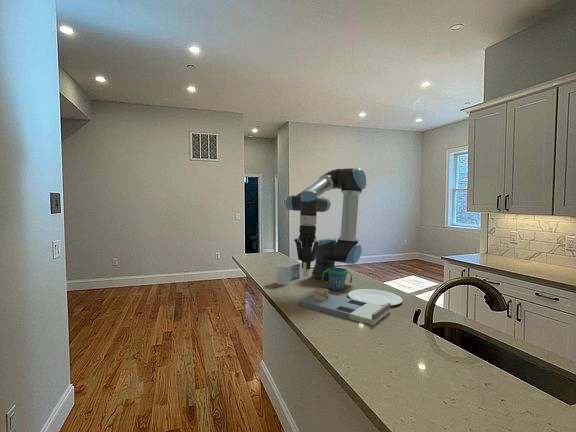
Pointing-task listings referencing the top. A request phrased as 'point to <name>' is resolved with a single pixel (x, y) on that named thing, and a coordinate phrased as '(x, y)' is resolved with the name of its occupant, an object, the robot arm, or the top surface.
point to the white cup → (283, 274)
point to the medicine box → (294, 271)
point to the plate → (375, 297)
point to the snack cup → (336, 277)
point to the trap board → (348, 308)
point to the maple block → (321, 294)
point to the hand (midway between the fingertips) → (305, 276)
